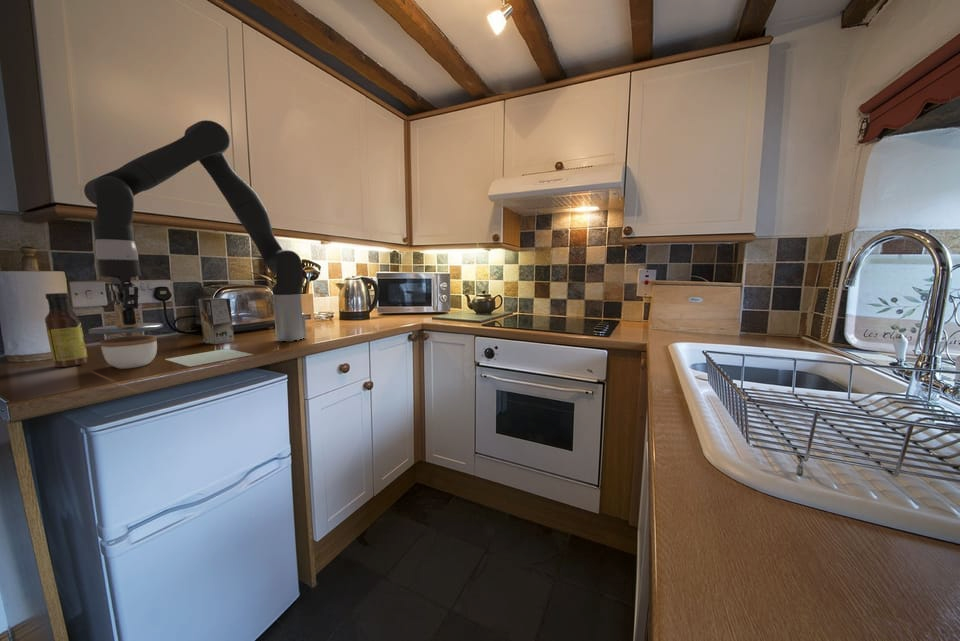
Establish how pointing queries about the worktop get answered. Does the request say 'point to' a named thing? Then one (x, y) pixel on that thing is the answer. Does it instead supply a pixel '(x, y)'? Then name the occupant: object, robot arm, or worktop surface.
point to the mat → (208, 357)
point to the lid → (122, 327)
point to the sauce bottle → (64, 332)
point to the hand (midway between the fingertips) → (127, 323)
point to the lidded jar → (129, 350)
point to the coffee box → (216, 320)
